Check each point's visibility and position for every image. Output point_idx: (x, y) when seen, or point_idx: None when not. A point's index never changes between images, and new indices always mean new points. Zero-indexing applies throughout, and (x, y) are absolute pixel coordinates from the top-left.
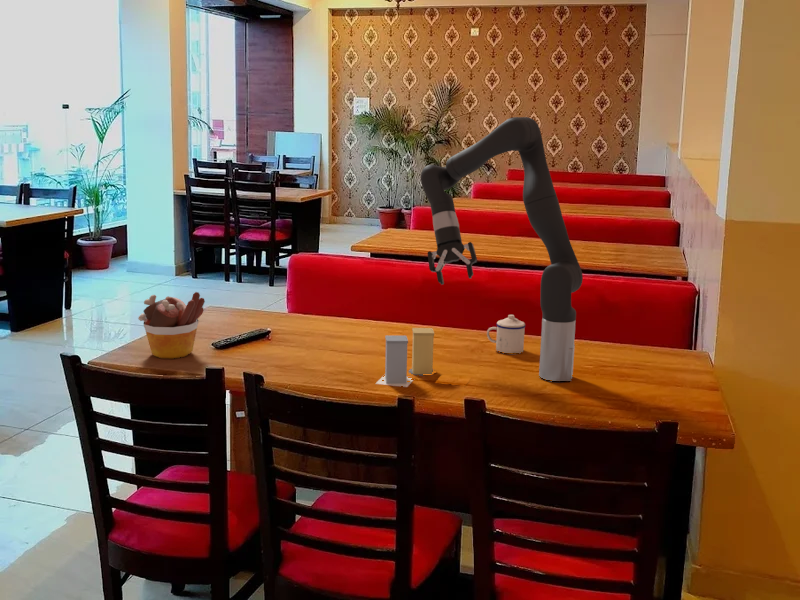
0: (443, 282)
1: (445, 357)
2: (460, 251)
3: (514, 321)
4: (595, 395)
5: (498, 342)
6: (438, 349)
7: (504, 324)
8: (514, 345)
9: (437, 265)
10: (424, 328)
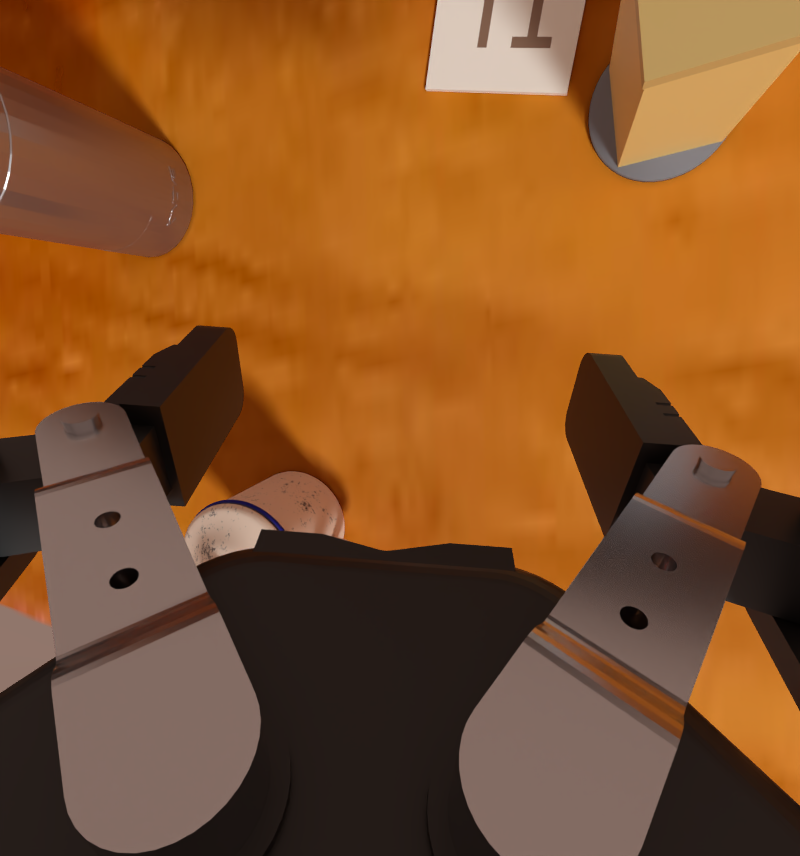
0: (573, 416)
1: (547, 394)
2: (31, 682)
3: (209, 542)
4: (35, 27)
5: (320, 510)
6: (581, 518)
7: (255, 525)
8: (264, 481)
9: (739, 525)
10: (714, 46)
